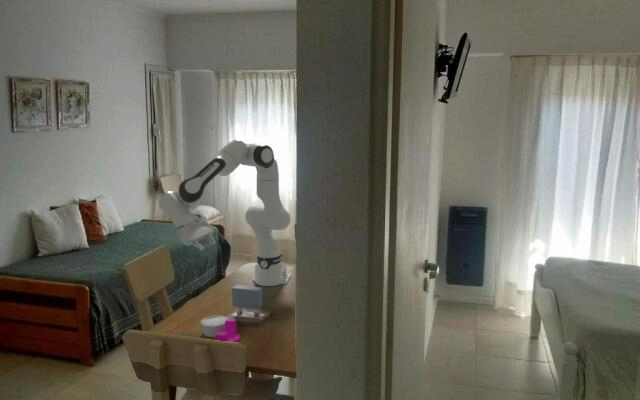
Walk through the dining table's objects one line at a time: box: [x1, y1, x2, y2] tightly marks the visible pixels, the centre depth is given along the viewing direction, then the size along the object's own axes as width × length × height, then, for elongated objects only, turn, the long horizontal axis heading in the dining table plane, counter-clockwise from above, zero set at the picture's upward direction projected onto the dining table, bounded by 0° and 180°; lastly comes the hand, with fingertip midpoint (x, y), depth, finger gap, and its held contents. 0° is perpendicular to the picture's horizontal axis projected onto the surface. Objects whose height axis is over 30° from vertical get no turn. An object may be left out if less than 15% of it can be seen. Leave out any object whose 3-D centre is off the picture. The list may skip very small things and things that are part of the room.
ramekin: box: [200, 315, 229, 338], centre depth 209 cm, size 11×11×5 cm
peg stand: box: [226, 307, 273, 328], centre depth 223 cm, size 14×16×6 cm
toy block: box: [214, 319, 241, 344], centre depth 197 cm, size 15×6×8 cm, turn 174°
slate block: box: [231, 284, 264, 309], centre depth 222 cm, size 4×12×8 cm, turn 72°
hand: (208, 246), depth 229 cm, fingers open, 8 cm apart
